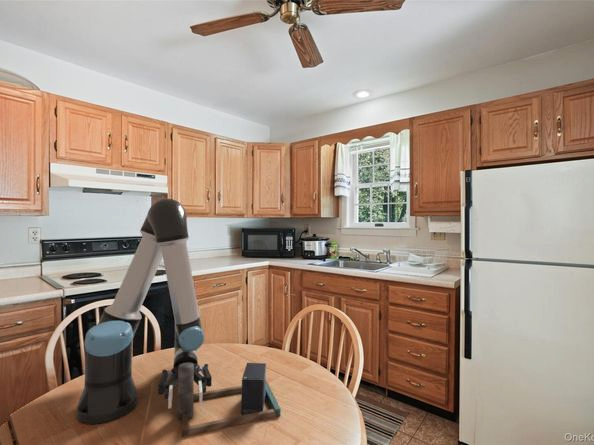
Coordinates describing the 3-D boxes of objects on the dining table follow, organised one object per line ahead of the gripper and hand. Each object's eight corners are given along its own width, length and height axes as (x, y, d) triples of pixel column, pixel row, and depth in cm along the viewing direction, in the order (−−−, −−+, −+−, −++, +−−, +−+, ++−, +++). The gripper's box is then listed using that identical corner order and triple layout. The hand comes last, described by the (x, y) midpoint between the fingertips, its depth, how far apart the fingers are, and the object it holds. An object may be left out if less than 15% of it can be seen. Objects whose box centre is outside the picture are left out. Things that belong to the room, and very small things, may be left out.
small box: (263, 416, 85) (264, 379, 85) (240, 417, 85) (240, 379, 85) (266, 395, 96) (266, 362, 96) (245, 395, 96) (246, 362, 96)
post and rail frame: (176, 437, 76) (177, 381, 76) (178, 401, 92) (179, 354, 92) (280, 415, 85) (281, 365, 85) (265, 386, 101) (266, 343, 101)
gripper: (216, 369, 105) (224, 407, 83) (152, 378, 98) (143, 422, 76) (216, 347, 105) (224, 379, 83) (152, 355, 98) (143, 392, 76)
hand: (185, 400), depth 80 cm, fingers open, 7 cm apart
